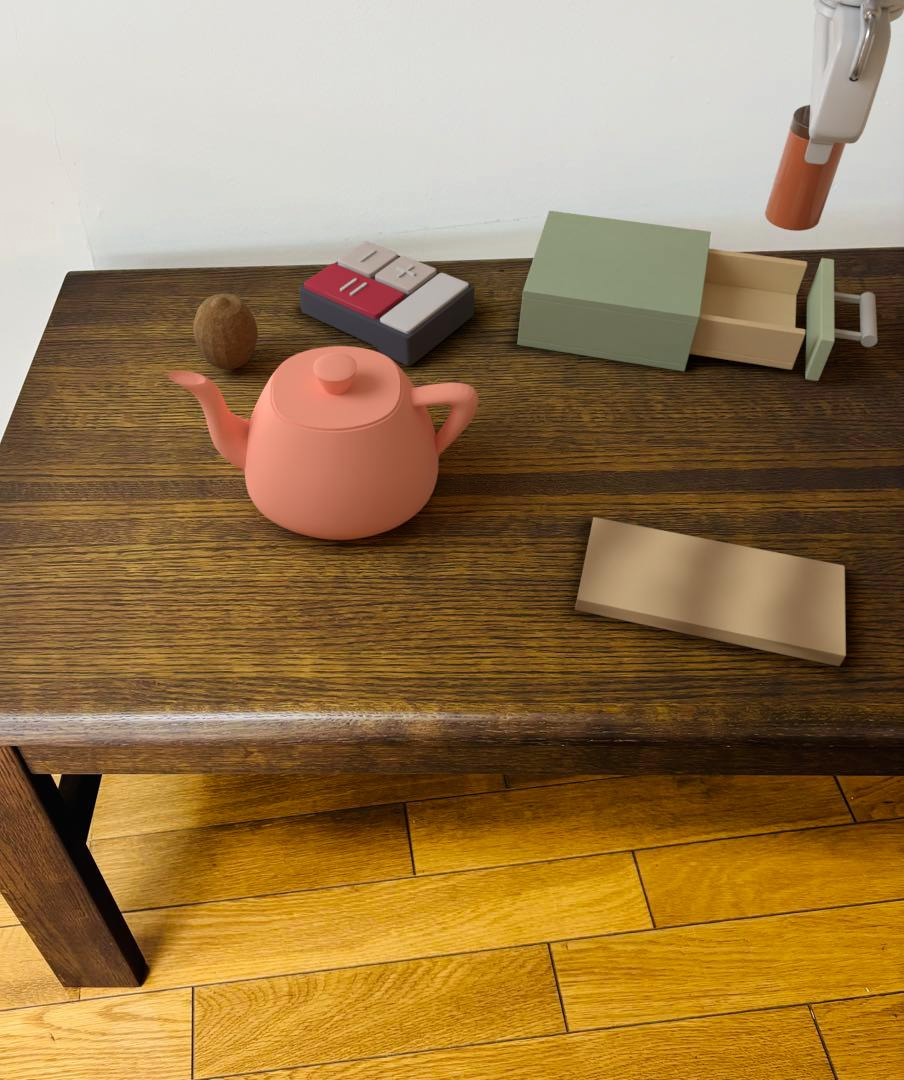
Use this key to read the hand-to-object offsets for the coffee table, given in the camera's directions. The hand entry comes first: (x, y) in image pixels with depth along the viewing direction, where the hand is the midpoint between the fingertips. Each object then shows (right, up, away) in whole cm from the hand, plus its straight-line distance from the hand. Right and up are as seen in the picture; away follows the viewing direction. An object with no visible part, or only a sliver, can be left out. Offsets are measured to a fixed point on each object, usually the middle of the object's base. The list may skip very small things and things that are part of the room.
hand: (815, 141), depth 83 cm
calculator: (-35, -9, +23) cm, 43 cm away
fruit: (-51, -16, +18) cm, 56 cm away
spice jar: (0, -5, +5) cm, 7 cm away
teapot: (-40, -28, +7) cm, 50 cm away
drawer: (+2, -12, +17) cm, 21 cm away
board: (-10, -37, -3) cm, 39 cm away
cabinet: (-12, -10, +21) cm, 26 cm away
